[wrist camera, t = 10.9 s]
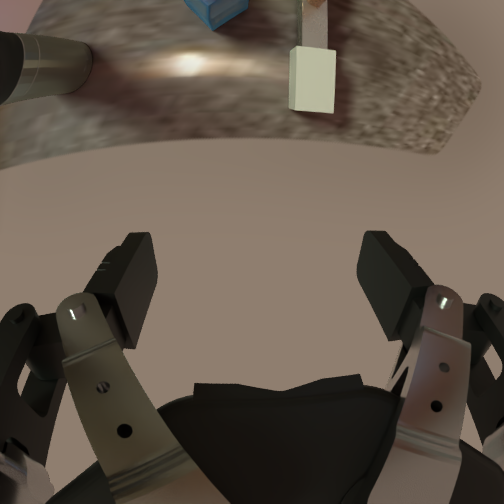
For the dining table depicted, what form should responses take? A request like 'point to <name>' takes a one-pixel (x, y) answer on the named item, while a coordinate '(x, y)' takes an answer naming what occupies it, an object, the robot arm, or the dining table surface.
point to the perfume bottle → (216, 10)
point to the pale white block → (312, 79)
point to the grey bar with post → (312, 23)
